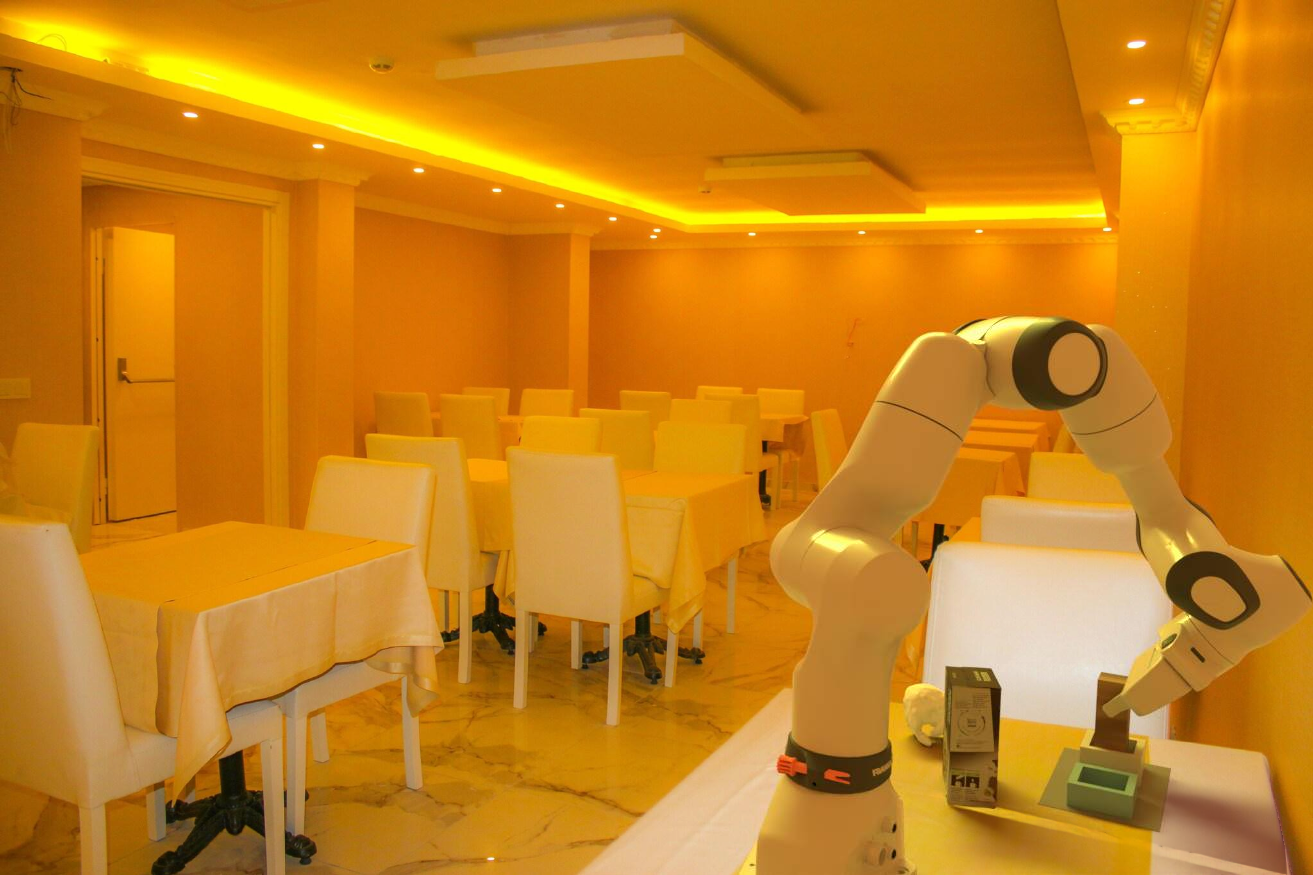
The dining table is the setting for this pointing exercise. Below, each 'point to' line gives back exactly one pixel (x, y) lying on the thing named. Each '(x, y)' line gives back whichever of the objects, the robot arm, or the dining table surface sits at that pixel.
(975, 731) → the coffee box
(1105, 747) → the plug
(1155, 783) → the caddy
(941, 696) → the white lumpy rounded piece
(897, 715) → the dining table surface
